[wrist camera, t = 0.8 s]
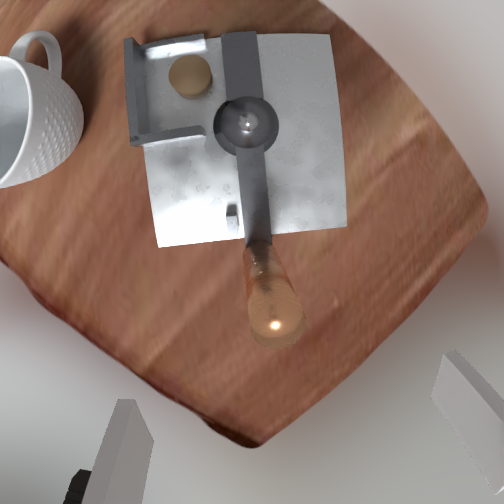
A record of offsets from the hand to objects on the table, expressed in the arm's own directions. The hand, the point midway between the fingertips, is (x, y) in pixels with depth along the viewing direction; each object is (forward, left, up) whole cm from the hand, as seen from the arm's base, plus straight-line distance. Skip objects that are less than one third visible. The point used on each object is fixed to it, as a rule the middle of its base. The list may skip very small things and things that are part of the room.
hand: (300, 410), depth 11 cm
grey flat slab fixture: (-12, 0, -23) cm, 26 cm away
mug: (-17, -20, -23) cm, 35 cm away
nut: (-17, -4, -21) cm, 27 cm away
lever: (-10, 0, -20) cm, 22 cm away
